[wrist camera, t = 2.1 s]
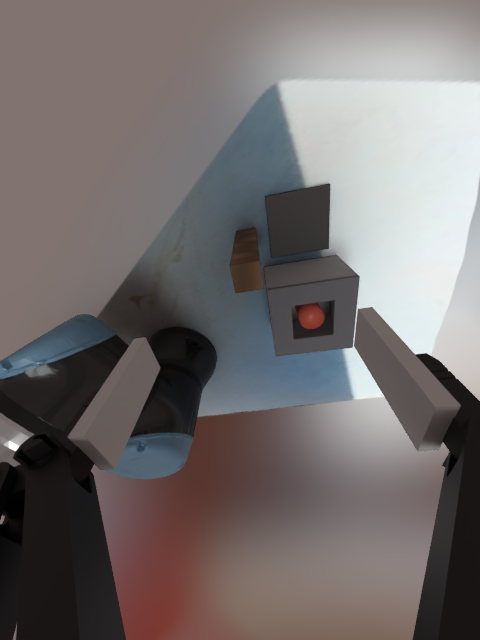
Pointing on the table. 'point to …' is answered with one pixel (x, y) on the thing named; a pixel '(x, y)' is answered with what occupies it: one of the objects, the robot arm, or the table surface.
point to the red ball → (310, 315)
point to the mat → (299, 220)
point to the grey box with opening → (312, 287)
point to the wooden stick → (246, 262)
